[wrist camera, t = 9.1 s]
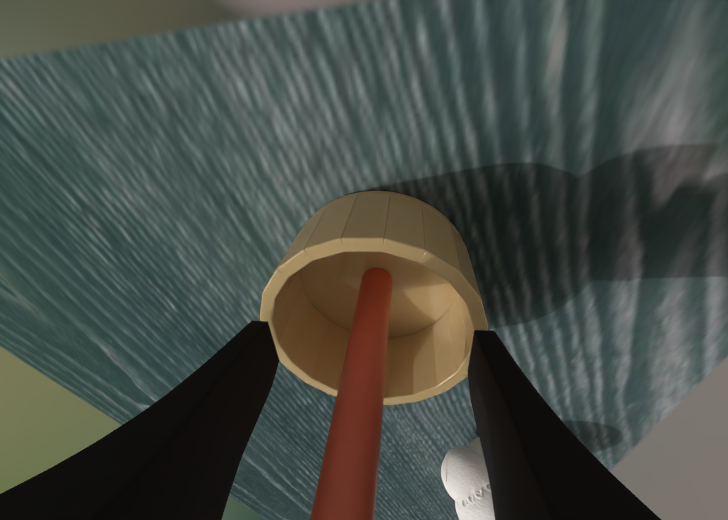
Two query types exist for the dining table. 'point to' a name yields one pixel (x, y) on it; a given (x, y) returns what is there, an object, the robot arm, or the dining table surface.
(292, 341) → the tumbler
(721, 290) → the dining table surface
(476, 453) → the microfossil shell
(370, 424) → the straw
